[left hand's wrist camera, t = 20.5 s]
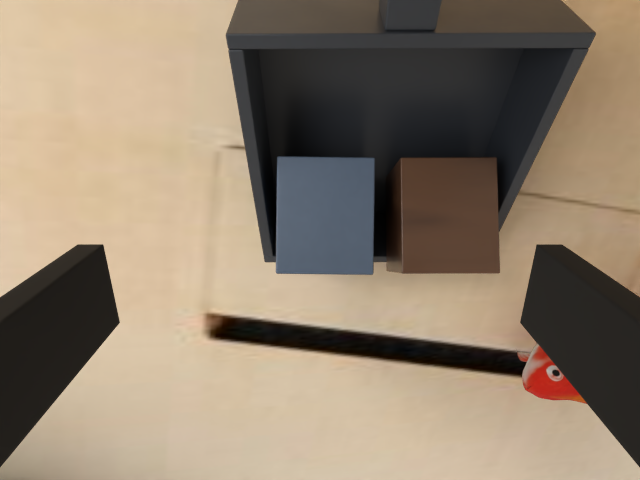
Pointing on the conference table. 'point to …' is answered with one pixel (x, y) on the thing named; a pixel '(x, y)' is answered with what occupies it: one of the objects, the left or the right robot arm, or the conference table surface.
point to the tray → (399, 86)
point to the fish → (546, 377)
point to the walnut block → (442, 215)
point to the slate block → (325, 215)
